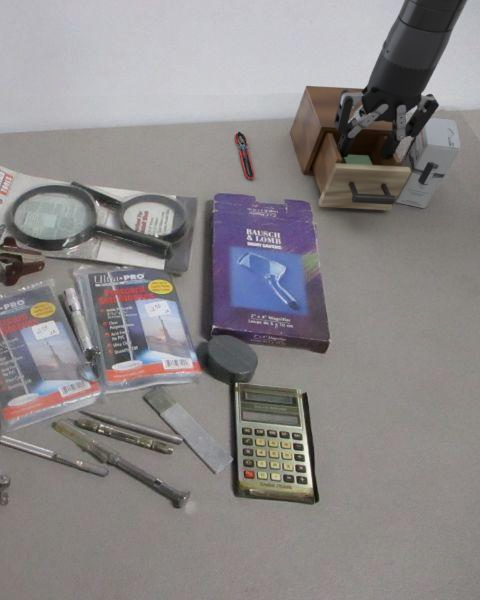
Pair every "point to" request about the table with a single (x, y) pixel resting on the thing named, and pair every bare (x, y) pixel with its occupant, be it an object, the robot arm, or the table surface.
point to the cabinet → (322, 122)
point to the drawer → (358, 174)
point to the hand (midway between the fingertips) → (363, 154)
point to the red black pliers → (244, 155)
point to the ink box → (428, 161)
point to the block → (356, 159)
